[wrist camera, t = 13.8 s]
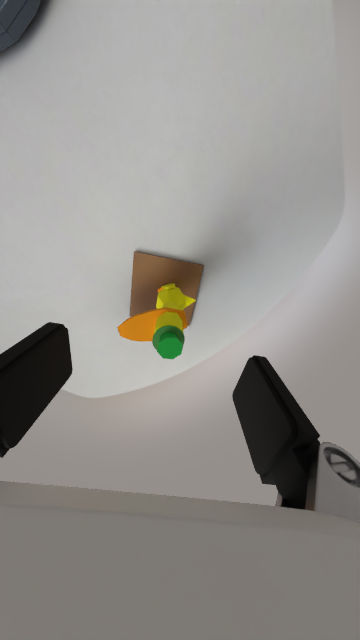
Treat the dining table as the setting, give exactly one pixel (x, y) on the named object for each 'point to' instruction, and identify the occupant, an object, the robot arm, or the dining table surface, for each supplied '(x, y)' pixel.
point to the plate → (15, 19)
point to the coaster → (162, 281)
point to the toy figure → (161, 322)
